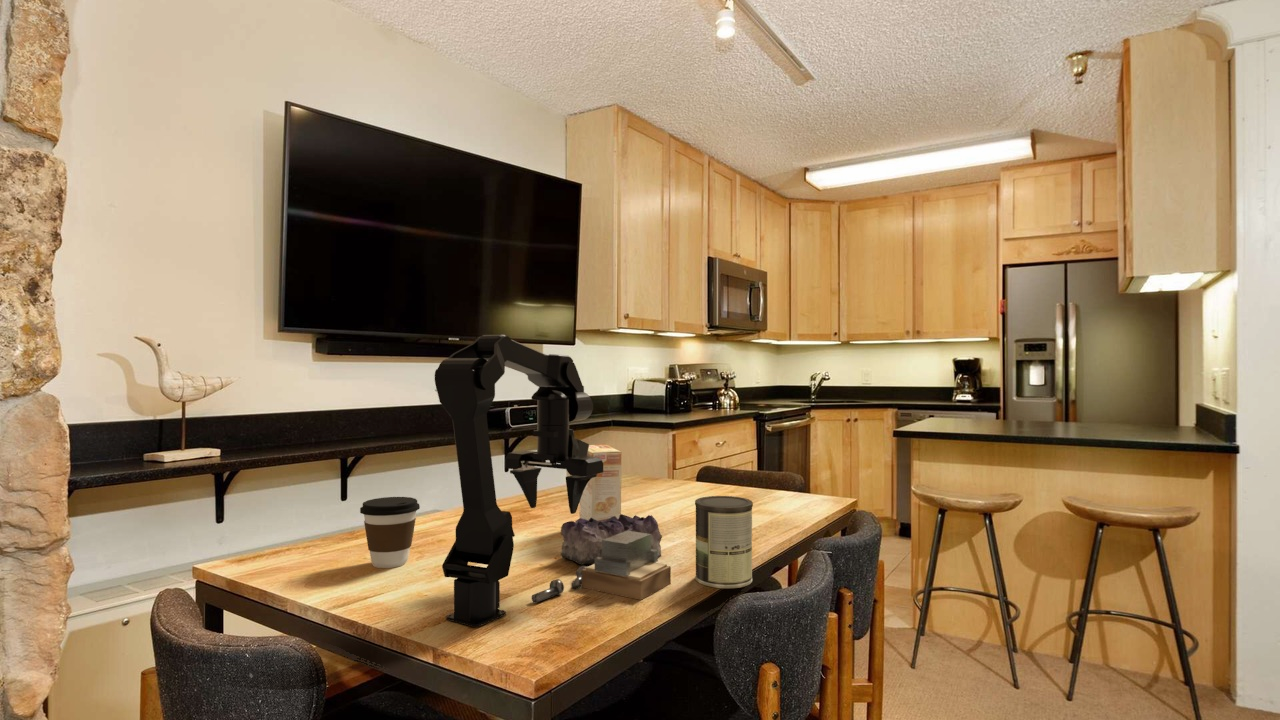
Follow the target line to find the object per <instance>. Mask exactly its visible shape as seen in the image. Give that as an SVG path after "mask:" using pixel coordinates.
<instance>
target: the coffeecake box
mask: <svg viewBox="0 0 1280 720" xmlns="http://www.w3.org/2000/svg"><path fill="white" fill-rule="evenodd" d="M587 456H594V457H600V458H601V460H602V461H603V473H598V474H597V476H596V477H594V478H591V479H590V481H589V482H588V483H587V485H586V487H585V489H584V491H583V494H582V497H581V499H580V502H579V517H578V519H580V518H582V519H586V520H588V521H589V519H590V518H593V519H595V520H597V521H603V520H607V519H609V518H611V517H613V516H615V517H616V518H617V519H619V516H620V515H621V514H622V451H621V450H618V449H616V448H614V447H612V446H610V445H608V444H589V448H588V453H587Z"/></svg>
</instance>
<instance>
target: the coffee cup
mask: <svg viewBox="0 0 1280 720" xmlns="http://www.w3.org/2000/svg"><path fill="white" fill-rule="evenodd" d="M420 507H421V506H420V503H418V499H416V498H415V497H409V496H388V497H387V496H385V497H378V498H372V499H368V500H366V501H364V502H363V503H362V506H361V507H360V509H359V512H360V514H362V515H363V517H364V520H363V523H364V529H365V536H366V542H367V547H368V551H369V554H370V555H369V556H370V561H371V562H370V563H371V564H372V565H373V566H372V567H374V568H377V569H391V568H392V569H393V568H398V567H402V566H404V565H405V564H407V562H408V560H409V557H410V556H409V555H410V551H411V547H412V545H413V539H414V538H413V537H414V533H415V532H414V530H415V527H416V526H415V525H416V514H417V511H418V510H420Z"/></svg>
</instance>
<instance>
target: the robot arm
mask: <svg viewBox="0 0 1280 720" xmlns="http://www.w3.org/2000/svg"><path fill="white" fill-rule="evenodd" d="M505 367H506V368H508V369H512V370H514V371H517V372H520V373H521V374H522V373H523V374H525V375H526V376H527V380H528V381H529V382H531V383H532V384H533V385H535V386H536V387H538V389H537V390H536V391H535V392H534V393H533V394H532V396H531V397H530V398H531V400H532V401H537V402H536V403H537V407H536V409H537V417H536V418H537V421H536V422H537V424H536V426H537V429H534V430H532V437H537V438H536V439H537V442H536V443H537V446H536V451H532V450H520V451H513V452H508V453H507V455H506V457H505V458H504V469H507V470H508V469H509V473H510V474H512V475H513V477H515V480H516V481H517V483H518V485H519V487H520V489H521V491H522V492H523V495H524V496H525V499H526V501H527V503H528V505H529V507H530V509H536V508H537V502H538V499H537V498H538V477H539V475H540V473H541V471H542V468H550V469H551V468H552V469H559V470H560V469H561V470H566V472H567V473H568V476H565V483H566V484H565V485H566V492H567V493H566V494H567V500H568V508H569V511H570V514H576V513H577V511H578V507H579V506H580V499H581V497H582V494H583V491H584V489H585V487H586V485H587V483H588V482H589V481H590V479H591V478H594V477H596V476H597V474H598V473H603V461H602V460H601V458H600V457H594V456H587V453H588V448H589V445H590V444H589V443H588V442H585V441H583V440H581V439H578V438H576V437H575V431H574V429H573V428H572V429H571V428H570V423H573V422H578V421H580V422H581V421H584V420H586V419H588V418H589V417H590V416H591V415H592V413H593V410H594V403H593V400H592V398H591V397H590V395H589V394H588V393H586V392H585V386H584V385H583V382H582V380H581V377H580V374H579V371H578V369H577V366H576V364H575V363H574V360H573V358H572V357H571V356H569V355H566V354H565V355H564V354H551V353H543V352H541V351H540V350H539V351H538V350H536V349H535V348H532V347H529V346H527V345H525V344H523V343H520V342H518V341H516V340H513V339H512V338H511V337H509V336H508V335H505V334H482V335H481V336H478V337H477V338H476V339H475V340H474V341H472V343H470V344H468V345H467V346H465V347H463V348H461V349H459V350H458V351H457V350H456V351H455V352H454V353H452V354H450V356H448V357H446V358H445V359H443V360H442V361H441V362H440V363H439V366H438V367H437V369H435V371H434V384H435V389H436V392H437V396H438V400H439V403H440V404H441V406H442V407H443V409H444V410H445V411H446V413H448V415H449V416H450V418H451V420H452V425H453V432H454V434H453V435H454V441H455V442H454V444H455V448H456V449H455V450H456V457H457V458H456V459H457V467H458V473H459V475H458V476H459V482H460V488H461V489H460V491H461V497H462V498H461V500H462V509H463V511H462V514H461V516H460V517H459V520H458V522H457V524H456V526H455V541H454V543H453V544H452V546H451V549H450V550H449V552H448V553H447V556H446V557H445V559H444V561H443V563H442V565H441V568H442V573H443V574H444V577H445V578H453V579H454V580H453V612H452V613H450V614H447V615H446V617H445V618H446V620H447V621H451V622H454V623H458V624H463V625H465V626H469V627H473V628H479V627H482V626H483V625H486V624H488V623H490V622H492V621H494V620H495V621H496V620H497V619H499V618H502V617H504V616H506V614H507V612H506V610H504V609H500V604H501V603H500V602H501V601H500V599H501V598H500V592H501V590H500V588H501V587H500V586H501V584H500V581H501V580H502V579H504V578H506V577H508V576H509V574H510V568H511V563H512V558H513V552H514V548H515V547H514V546H515V545H514V537H515V536H516V535H515V533H514V528H513V516H512V514H511V511H507V510H501V509H500V507H499V506H498V503H497V495H496V487H495V486H496V485H495V477H494V469H493V468H494V467H493V460H492V459H493V458H492V451H491V443H490V433H489V424H488V415H487V414H488V412H489V410H490V408H491V406H492V404H493V401H494V400H495V397H496V384H497V382H498V381H499V380H500V379H501V378H502V377H503V375H505V371H506V368H505ZM548 461H549V462H548ZM469 563H473V564H480V565H487V566H486V567H485V566H478V565H477V566H476V565H471V564H470V565H469Z"/></svg>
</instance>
